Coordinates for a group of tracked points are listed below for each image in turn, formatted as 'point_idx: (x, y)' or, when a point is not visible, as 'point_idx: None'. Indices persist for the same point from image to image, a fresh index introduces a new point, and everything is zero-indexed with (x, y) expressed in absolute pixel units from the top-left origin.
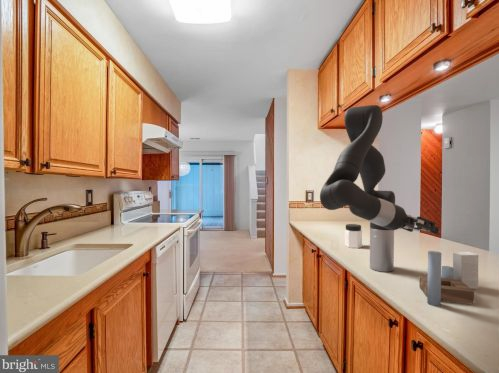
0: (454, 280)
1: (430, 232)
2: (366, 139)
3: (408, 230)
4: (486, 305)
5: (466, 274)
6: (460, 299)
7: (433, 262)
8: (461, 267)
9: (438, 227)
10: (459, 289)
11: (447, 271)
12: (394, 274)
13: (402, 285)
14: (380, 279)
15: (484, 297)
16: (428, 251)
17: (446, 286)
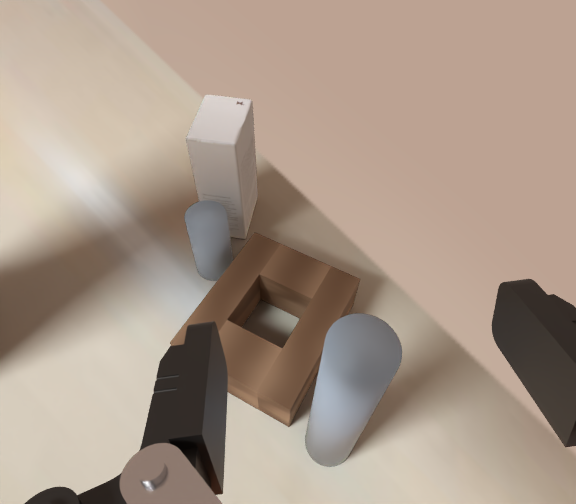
0: (257, 255)
1: (533, 394)
2: None
3: (225, 419)
4: (364, 276)
5: (246, 191)
6: None
7: (378, 400)
8: (237, 184)
9: (531, 280)
10: (337, 311)
11: (219, 235)
12: (19, 357)
13: (133, 422)
14: (22, 480)
15: (314, 233)
16: (336, 368)
17: (301, 331)
